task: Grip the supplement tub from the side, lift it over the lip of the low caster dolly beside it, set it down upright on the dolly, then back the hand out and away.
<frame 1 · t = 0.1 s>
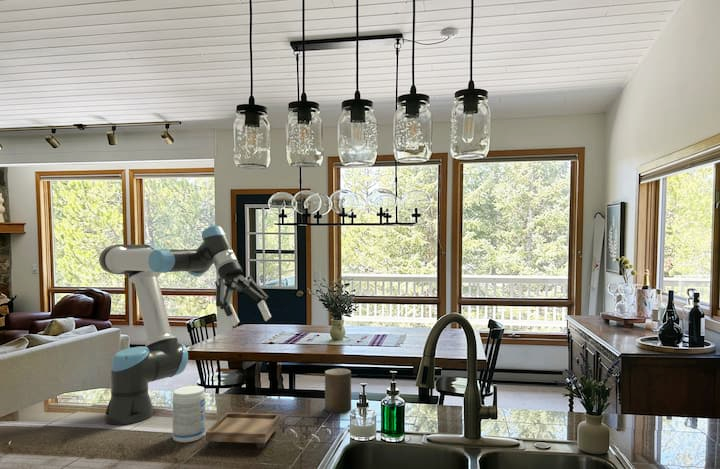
hand: (252, 321, 145), 36 cm above the kitchen counter, tool tilted 35°, fingers open, 13 cm apart
pillar candle: (338, 409, 167), on the kitchen counter
caster dolly: (244, 439, 140), on the kitchen counter
supplement tub: (188, 437, 142), on the kitchen counter
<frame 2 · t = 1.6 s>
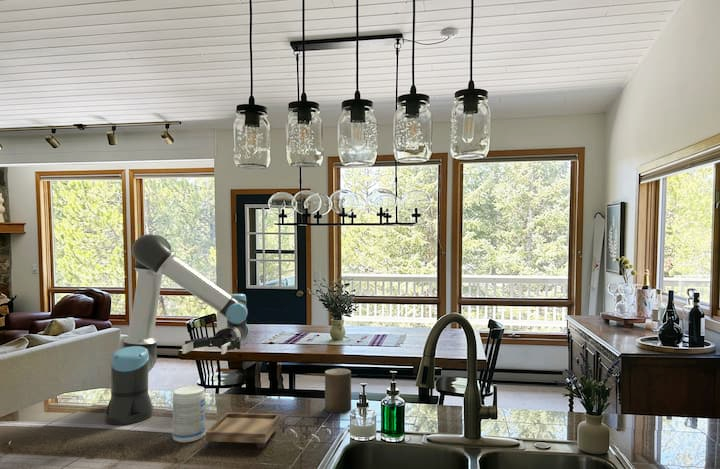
hand: (202, 350, 152), 25 cm above the kitchen counter, tool horizontal, fingers open, 13 cm apart
nothing on the kitchen counter moved.
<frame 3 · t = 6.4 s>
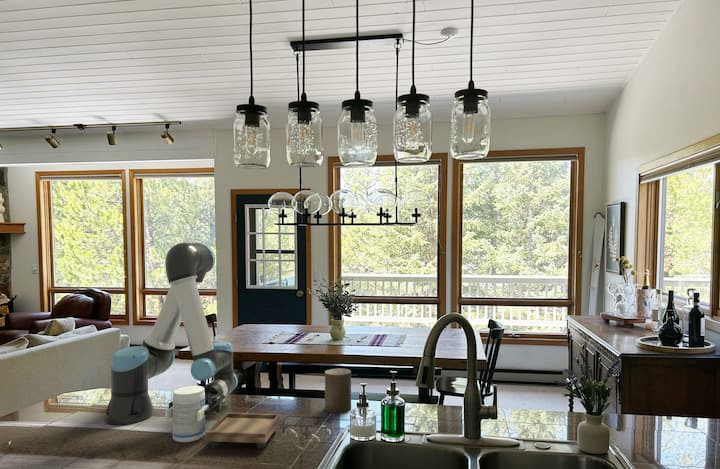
hand: (182, 416, 138), 8 cm above the kitchen counter, tool horizontal, fingers closed on supplement tub, 9 cm apart
supplement tub: (188, 437, 142), on the kitchen counter, touching gripper
everything else where it was.
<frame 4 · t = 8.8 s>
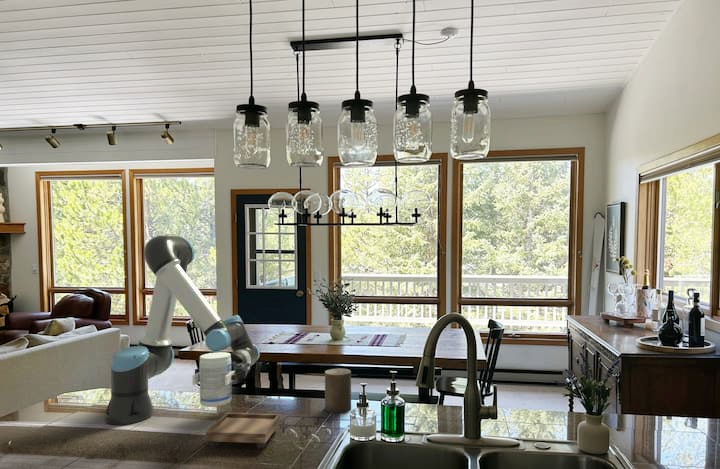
hand: (209, 380, 138), 19 cm above the kitchen counter, tool horizontal, fingers closed on supplement tub, 9 cm apart
supplement tub: (215, 403, 142), point 11 cm above the kitchen counter, touching gripper
everything else where it was.
when the fingers open (13 cm above the kitchen counter, at t = 11.1 s): supplement tub drops 1 cm, resting on caster dolly.
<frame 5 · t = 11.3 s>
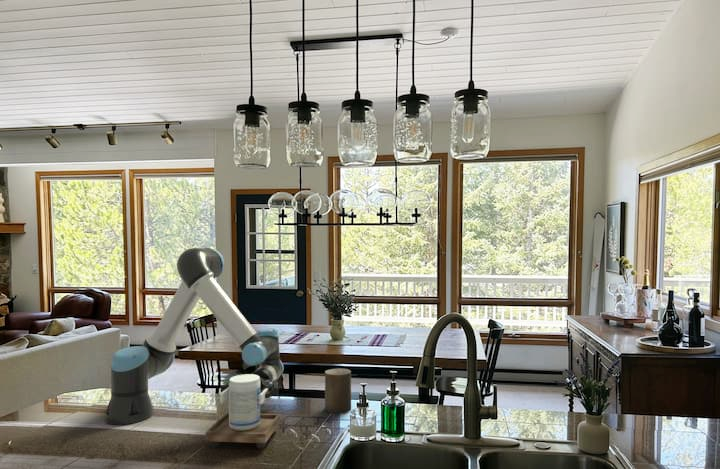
hand: (240, 398, 137), 13 cm above the kitchen counter, tool horizontal, fingers open, 11 cm apart
supplement tub: (244, 426, 140), point 4 cm above the kitchen counter, touching caster dolly
everything else where it was.
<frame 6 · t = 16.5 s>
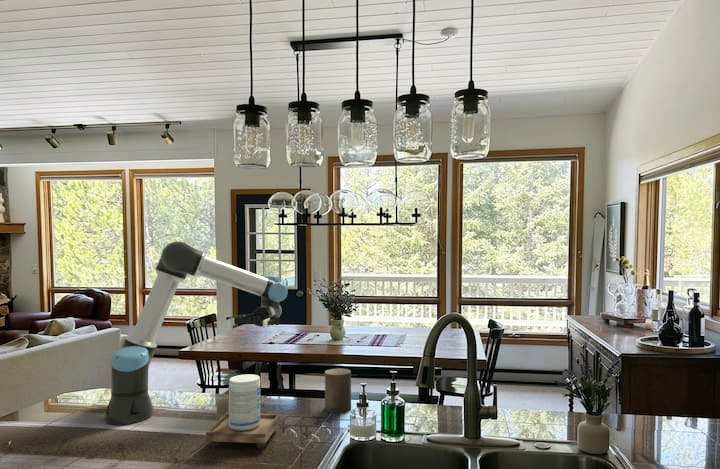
hand: (245, 324, 162), 32 cm above the kitchen counter, tool horizontal, fingers open, 13 cm apart
nothing on the kitchen counter moved.
at the end: supplement tub inside the target area on the caster dolly (0.1 cm from its centre), point 3.8 cm above the caster dolly's base; supplement tub tilted 0°; the gripper is holding nothing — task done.
